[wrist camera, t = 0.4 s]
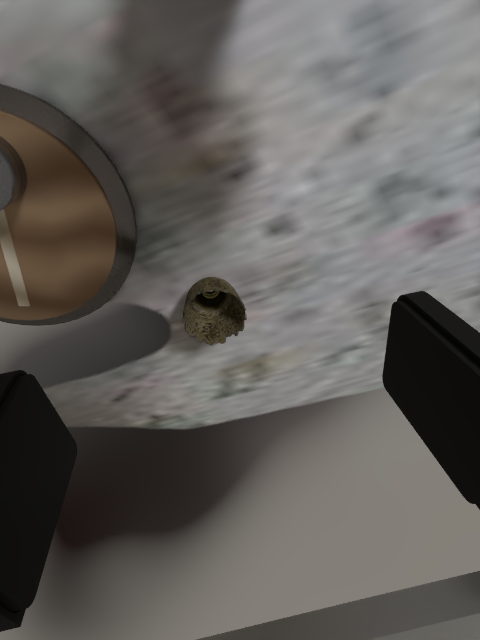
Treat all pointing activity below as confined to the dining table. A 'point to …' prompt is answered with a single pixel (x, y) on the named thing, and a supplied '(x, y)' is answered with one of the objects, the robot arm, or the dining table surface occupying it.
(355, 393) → the dining table surface
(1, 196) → the cover
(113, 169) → the turntable base
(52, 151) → the platter
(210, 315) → the cup
